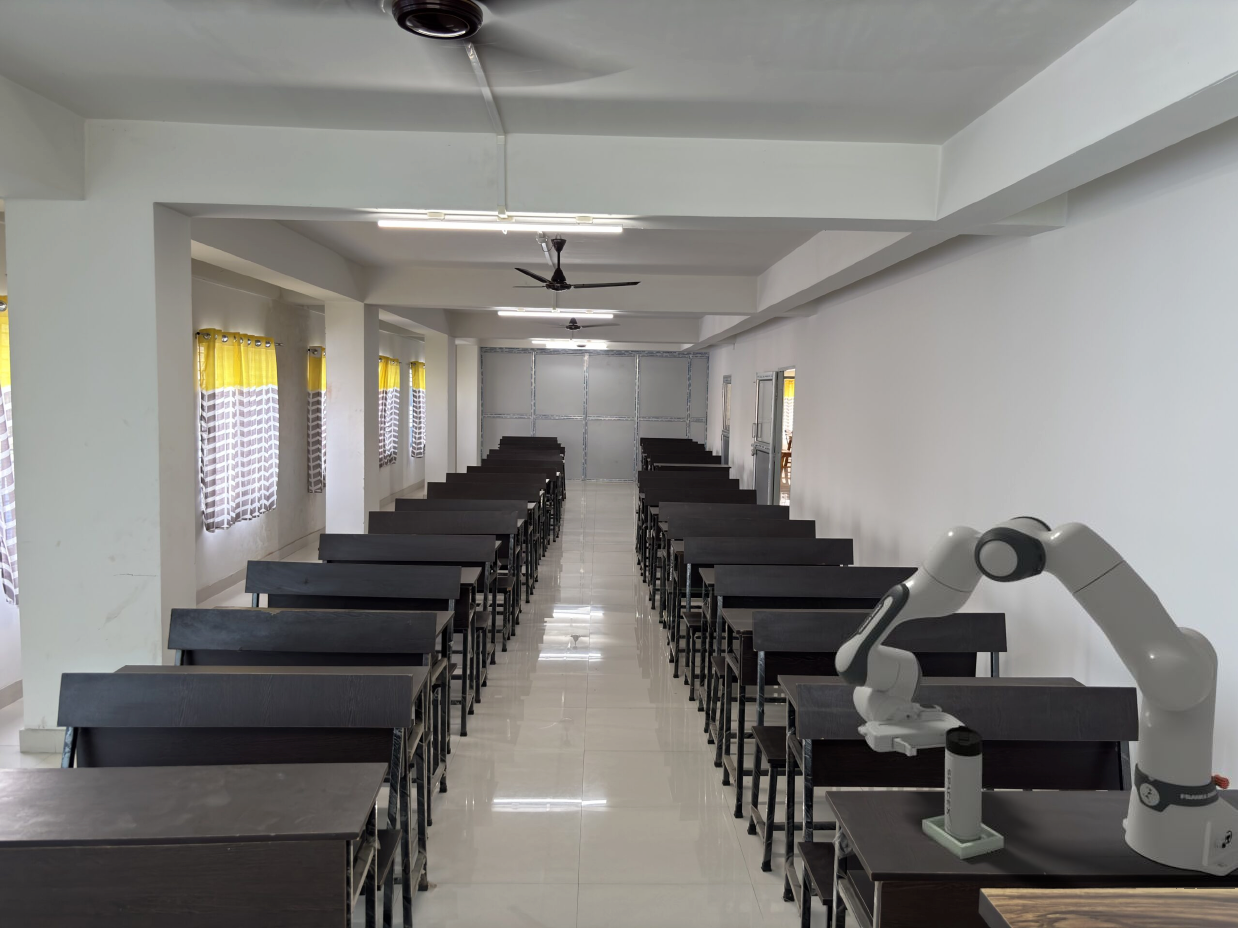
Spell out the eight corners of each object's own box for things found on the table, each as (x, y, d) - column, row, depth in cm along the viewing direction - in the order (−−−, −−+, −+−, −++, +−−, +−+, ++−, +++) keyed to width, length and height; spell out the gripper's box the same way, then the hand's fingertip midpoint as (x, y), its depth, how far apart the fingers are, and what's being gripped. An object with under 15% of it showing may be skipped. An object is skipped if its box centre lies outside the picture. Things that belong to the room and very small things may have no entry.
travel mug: (980, 830, 158) (981, 726, 157) (981, 848, 152) (982, 740, 151) (944, 824, 161) (945, 722, 159) (944, 842, 155) (945, 736, 153)
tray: (962, 821, 163) (962, 810, 163) (1003, 848, 153) (1003, 836, 153) (922, 830, 160) (922, 819, 160) (961, 858, 150) (961, 847, 150)
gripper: (854, 711, 176) (885, 738, 162) (945, 704, 179) (983, 730, 166) (853, 741, 176) (885, 770, 163) (944, 733, 180) (982, 761, 166)
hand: (935, 750), depth 164 cm, fingers open, 8 cm apart
